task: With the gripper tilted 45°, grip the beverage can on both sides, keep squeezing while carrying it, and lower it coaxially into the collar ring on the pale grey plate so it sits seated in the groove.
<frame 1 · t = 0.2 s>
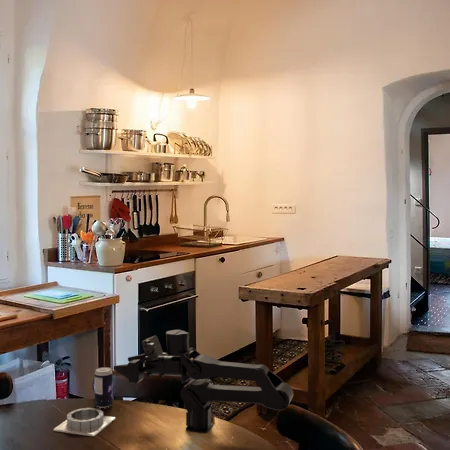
hand: (121, 363, 178), 17 cm above the table, tool horizontal, fingers open, 9 cm apart
beverage can: (103, 406, 188), on the table
collar seat: (85, 424, 173), on the table
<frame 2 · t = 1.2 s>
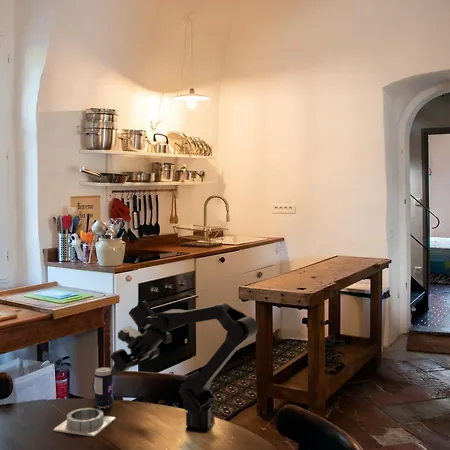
hand: (120, 369, 184), 13 cm above the table, tool tilted 45°, fingers open, 9 cm apart
nothing on the table moved.
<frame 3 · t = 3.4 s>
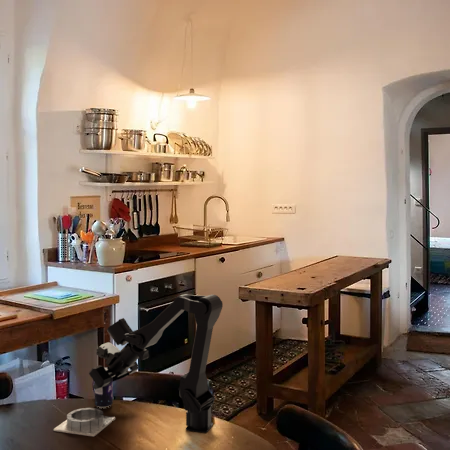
hand: (100, 385, 188), 7 cm above the table, tool tilted 45°, fingers closed on beverage can, 6 cm apart
beverage can: (103, 406, 188), on the table, touching gripper
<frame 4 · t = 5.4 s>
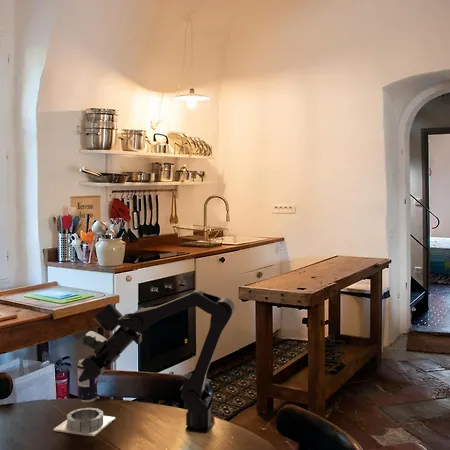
hand: (83, 377, 175), 13 cm above the table, tool tilted 45°, fingers closed on beverage can, 6 cm apart
beverage can: (87, 400, 176), point 6 cm above the table, touching gripper
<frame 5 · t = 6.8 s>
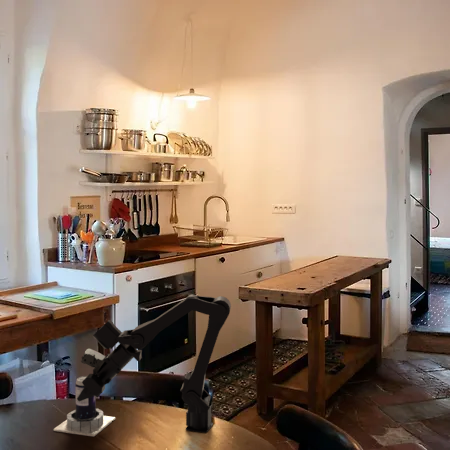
hand: (81, 396, 173), 9 cm above the table, tool tilted 45°, fingers closed on beverage can, 6 cm apart
beverage can: (86, 419, 173), point 2 cm above the table, touching gripper
when the fingers open (8 cm above the table, at t = 7.7 s): beverage can drops 1 cm, resting on collar seat.
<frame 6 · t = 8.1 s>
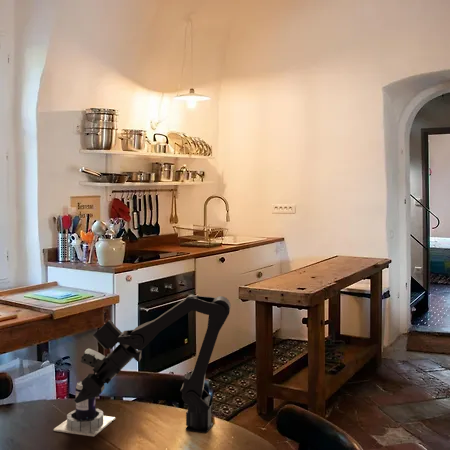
hand: (80, 396, 173), 9 cm above the table, tool tilted 45°, fingers open, 9 cm apart
beverage can: (86, 423, 173), resting on collar seat
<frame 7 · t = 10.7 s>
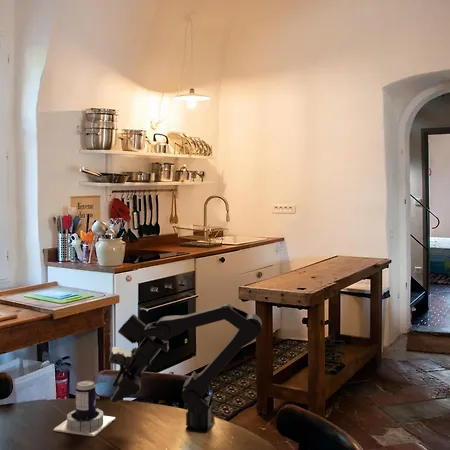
hand: (113, 393, 172), 10 cm above the table, tool tilted 40°, fingers open, 9 cm apart
nothing on the table moved.
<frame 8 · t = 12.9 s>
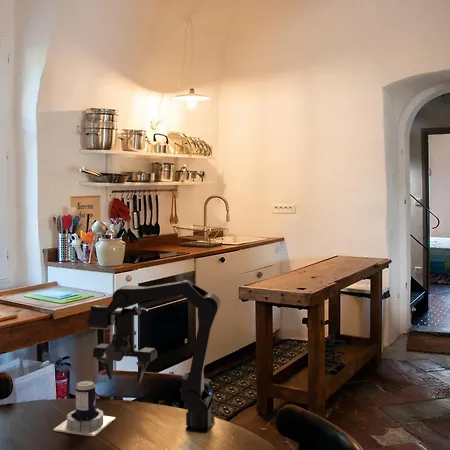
hand: (124, 381, 173), 13 cm above the table, tool pointing down, fingers open, 9 cm apart
nothing on the table moved.
at the end: beverage can 0.2 cm from the collar seat (horizontally); beverage can tilted 0°; the gripper is holding nothing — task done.
